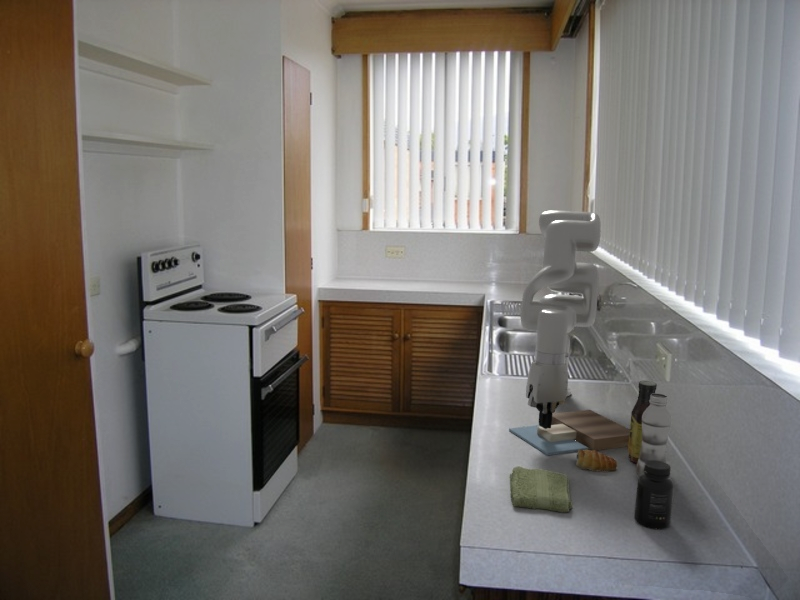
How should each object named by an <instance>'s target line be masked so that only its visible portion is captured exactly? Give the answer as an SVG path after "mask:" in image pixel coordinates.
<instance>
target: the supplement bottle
mask: <svg viewBox="0 0 800 600" xmlns="http://www.w3.org/2000/svg"><path fill="white" fill-rule="evenodd" d="M670 477H671V465H670V464H669V463H667V462H666V463H665V462H662V461H656V460H650V461H646V462H645V466H644V474H642V475H640V476H639V477H638V478H637V483H636V494H635V503H634V512H633V513H634V515H633V517H634V520H635V522H636V523H638V524H639V525H640V526H641V527H645V528H647V529H652V530H665V529H667V528H668V527H670V525H671V519H672V512H673V503H674V501H673V500H674V493H675V483H674V481H673V480H672V478H670Z"/></svg>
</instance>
